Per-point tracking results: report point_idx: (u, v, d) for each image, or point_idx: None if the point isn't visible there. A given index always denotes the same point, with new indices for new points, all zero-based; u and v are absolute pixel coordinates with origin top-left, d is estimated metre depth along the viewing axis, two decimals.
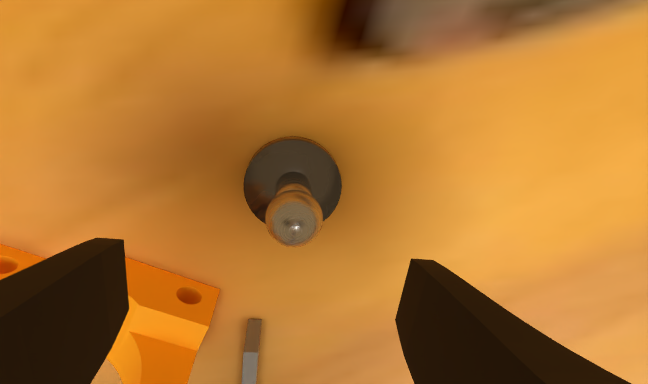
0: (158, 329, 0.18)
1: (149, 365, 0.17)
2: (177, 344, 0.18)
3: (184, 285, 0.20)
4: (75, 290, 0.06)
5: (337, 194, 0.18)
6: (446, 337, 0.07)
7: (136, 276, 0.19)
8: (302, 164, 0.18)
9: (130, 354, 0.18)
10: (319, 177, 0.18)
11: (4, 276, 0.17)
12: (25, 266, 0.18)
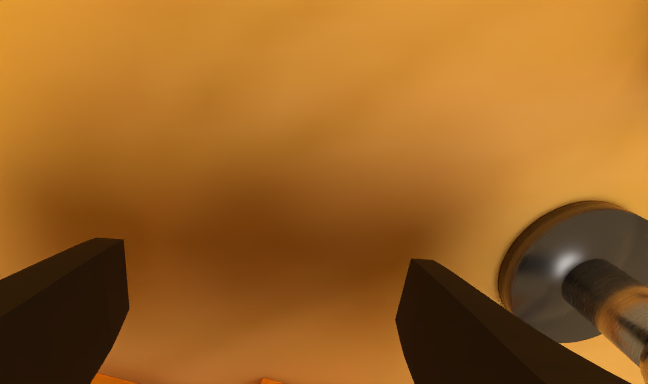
0: None
1: None
2: None
3: None
4: (76, 290, 0.06)
5: None
6: (446, 337, 0.07)
7: None
8: (615, 248, 0.11)
9: None
10: (632, 266, 0.11)
11: None
12: None
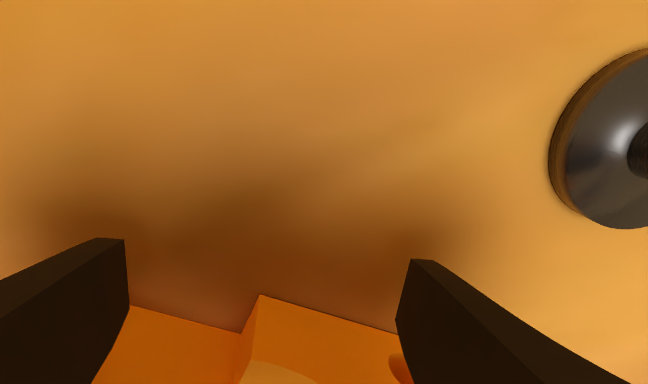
0: None
1: None
2: None
3: (390, 350, 0.11)
4: (77, 290, 0.06)
5: None
6: (446, 337, 0.07)
7: (322, 345, 0.10)
8: None
9: None
10: None
11: None
12: (127, 337, 0.10)
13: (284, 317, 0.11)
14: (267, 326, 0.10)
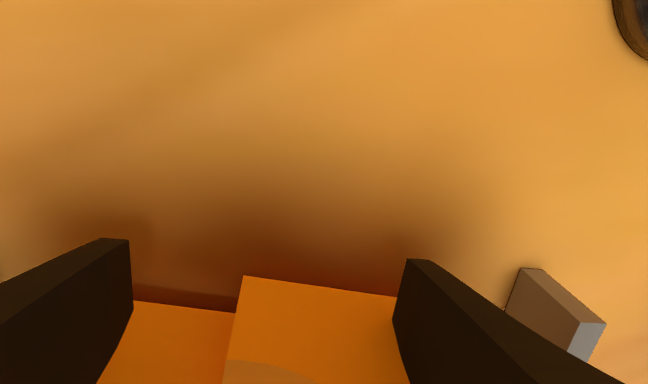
0: None
1: None
2: None
3: None
4: (82, 291, 0.06)
5: None
6: (441, 337, 0.07)
7: (315, 328, 0.09)
8: None
9: None
10: None
11: None
12: None
13: (271, 299, 0.09)
14: (249, 314, 0.09)
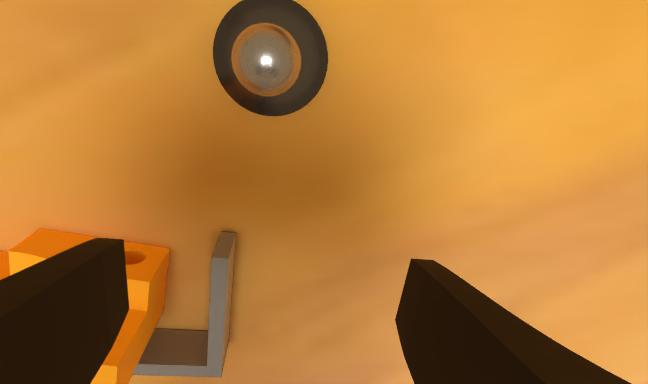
0: None
1: None
2: None
3: (127, 248, 0.18)
4: (76, 290, 0.06)
5: (322, 70, 0.16)
6: (446, 337, 0.07)
7: (70, 246, 0.17)
8: (282, 27, 0.15)
9: None
10: (302, 46, 0.15)
11: None
12: None
13: (52, 235, 0.18)
14: (33, 239, 0.17)
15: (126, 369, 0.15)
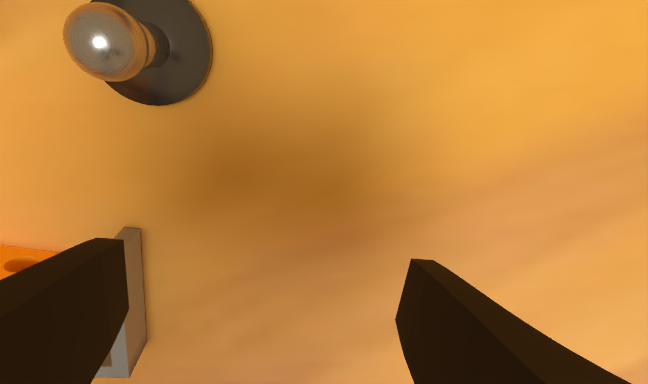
0: None
1: None
2: None
3: (21, 255, 0.18)
4: (76, 290, 0.06)
5: (204, 56, 0.15)
6: (446, 337, 0.07)
7: None
8: (154, 12, 0.14)
9: None
10: (179, 31, 0.15)
11: None
12: None
13: None
14: None
15: None
